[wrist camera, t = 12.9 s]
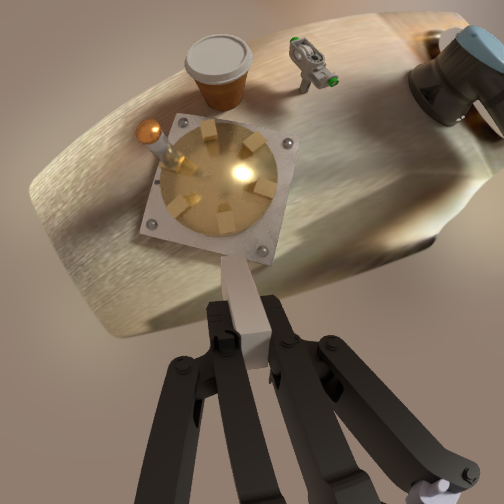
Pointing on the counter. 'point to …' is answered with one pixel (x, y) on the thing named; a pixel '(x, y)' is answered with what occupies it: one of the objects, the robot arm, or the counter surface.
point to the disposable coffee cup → (220, 69)
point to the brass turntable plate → (214, 175)
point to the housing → (246, 242)
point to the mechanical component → (310, 65)
